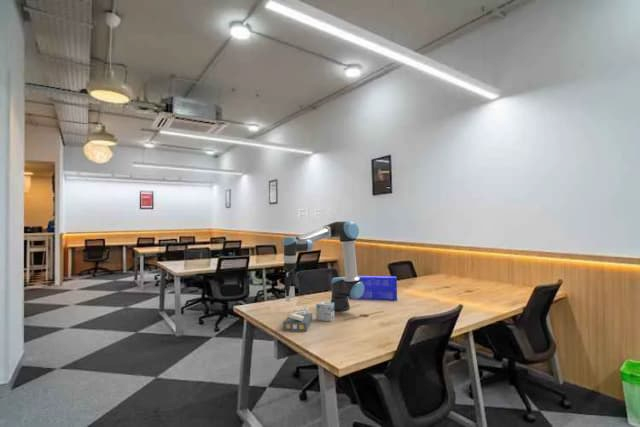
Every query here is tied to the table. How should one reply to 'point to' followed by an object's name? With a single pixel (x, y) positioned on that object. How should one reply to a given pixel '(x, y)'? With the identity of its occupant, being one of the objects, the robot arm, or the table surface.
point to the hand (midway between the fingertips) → (290, 299)
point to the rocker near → (296, 316)
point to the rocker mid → (300, 312)
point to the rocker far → (301, 309)
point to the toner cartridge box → (379, 287)
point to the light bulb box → (325, 311)
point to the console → (297, 323)
